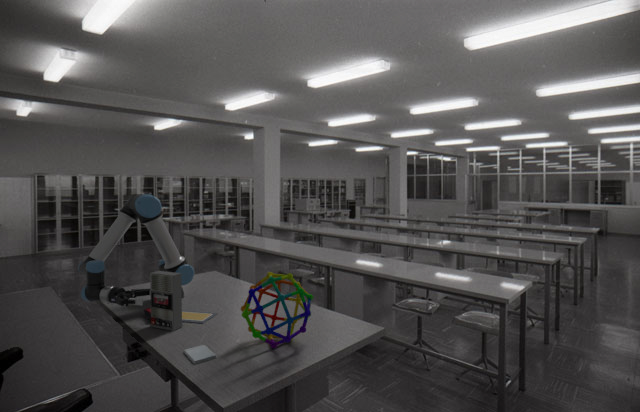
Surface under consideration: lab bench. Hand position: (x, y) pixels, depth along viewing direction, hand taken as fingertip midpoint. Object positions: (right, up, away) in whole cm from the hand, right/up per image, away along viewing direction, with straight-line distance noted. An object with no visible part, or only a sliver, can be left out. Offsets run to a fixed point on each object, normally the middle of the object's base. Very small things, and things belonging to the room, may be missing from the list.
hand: (152, 297), depth 169 cm
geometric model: (+59, -14, -18) cm, 64 cm away
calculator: (-3, -13, +15) cm, 20 cm away
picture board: (+13, -13, +13) cm, 23 cm away
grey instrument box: (+6, -14, 0) cm, 15 cm away
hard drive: (+31, -15, -29) cm, 45 cm away
